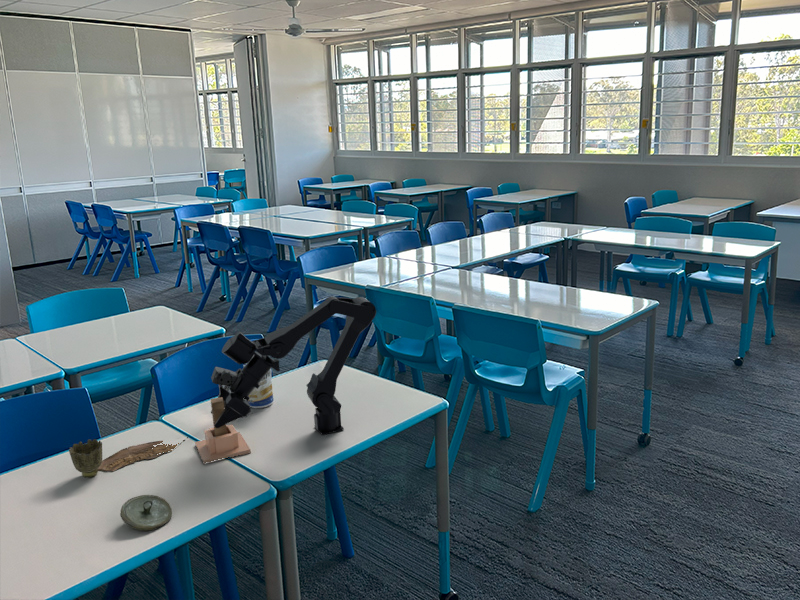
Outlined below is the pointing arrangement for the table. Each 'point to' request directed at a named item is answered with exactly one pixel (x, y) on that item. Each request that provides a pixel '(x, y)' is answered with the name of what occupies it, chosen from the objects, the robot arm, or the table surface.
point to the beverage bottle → (262, 392)
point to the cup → (87, 457)
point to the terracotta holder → (222, 445)
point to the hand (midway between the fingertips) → (213, 420)
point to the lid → (146, 512)
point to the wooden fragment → (134, 455)
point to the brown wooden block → (218, 415)
